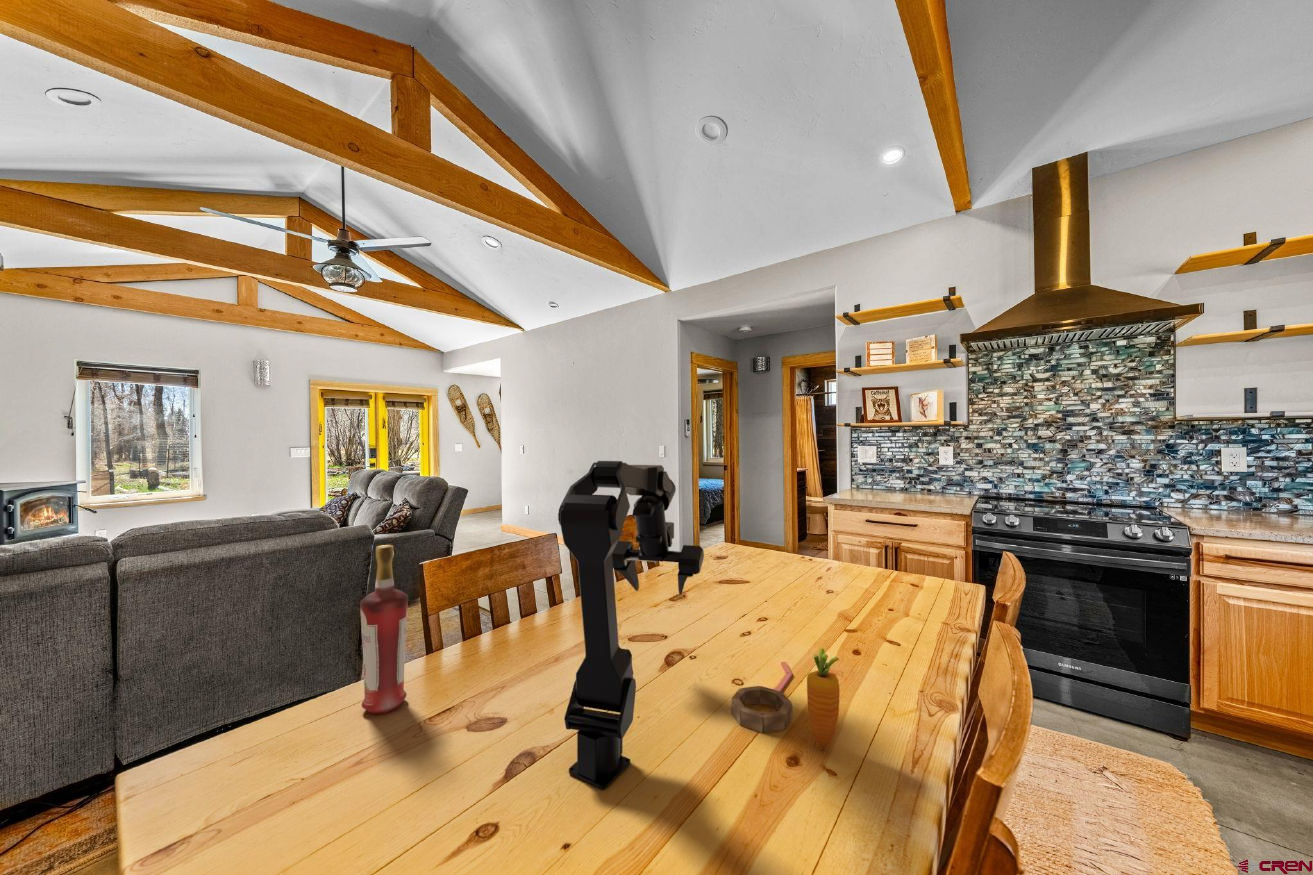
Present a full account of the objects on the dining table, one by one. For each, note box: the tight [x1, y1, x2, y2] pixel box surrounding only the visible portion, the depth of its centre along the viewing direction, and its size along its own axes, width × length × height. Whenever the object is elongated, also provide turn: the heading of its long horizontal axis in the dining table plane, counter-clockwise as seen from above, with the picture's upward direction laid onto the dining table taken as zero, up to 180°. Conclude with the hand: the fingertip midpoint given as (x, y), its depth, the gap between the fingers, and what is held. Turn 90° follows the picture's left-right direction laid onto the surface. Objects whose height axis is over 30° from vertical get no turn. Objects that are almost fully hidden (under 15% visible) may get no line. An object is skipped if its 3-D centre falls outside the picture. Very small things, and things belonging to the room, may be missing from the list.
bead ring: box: [730, 685, 793, 734], centre depth 83 cm, size 9×9×2 cm
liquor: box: [359, 544, 409, 715], centre depth 85 cm, size 7×7×28 cm
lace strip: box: [774, 661, 793, 692], centre depth 94 cm, size 16×3×1 cm, turn 149°
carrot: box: [806, 648, 841, 751], centre depth 74 cm, size 5×5×15 cm
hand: (659, 591), depth 100 cm, fingers open, 9 cm apart
